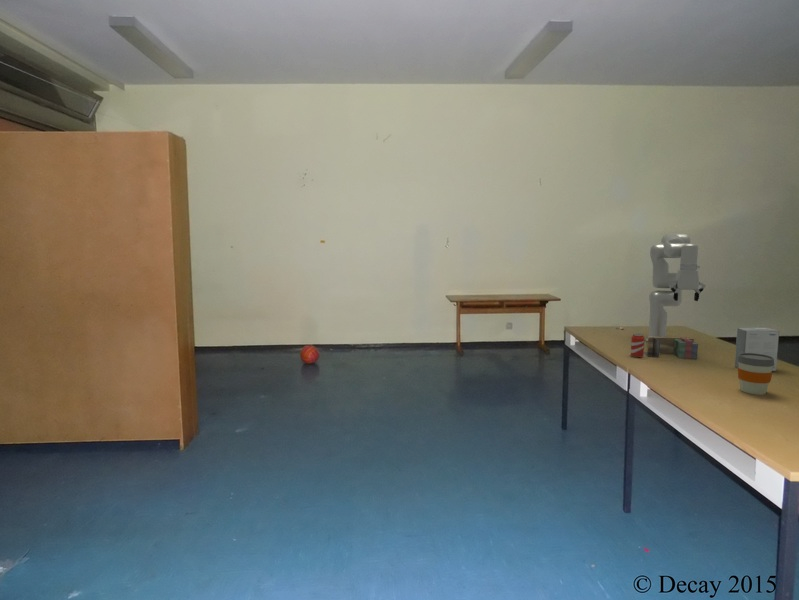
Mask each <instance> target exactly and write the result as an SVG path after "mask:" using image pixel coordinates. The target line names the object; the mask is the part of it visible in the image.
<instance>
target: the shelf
mask: <svg viewBox="0 0 799 600" xmlns="http://www.w3.org/2000/svg"><path fill="white" fill-rule="evenodd" d="M647 338H648V342H647V343H646V344H647V345H646V346H647V347H646V352H650V353H653V338H654V337H649V336H647ZM655 338H656V339H658V340H659V341H660V351H659V353H665V354H664V355H666V354H667V355H668V354H669V355H674V356H675V357H677V358H678V359H687V358H692V359H691V360H697V359H698V350H699V348H698V347H699V344H698V343H697V342H695V338H693V337H691V338H690V337H670V336H669V337H667V336H666V337H655Z"/></svg>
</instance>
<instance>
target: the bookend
mask: <svg viewBox="0 0 799 600" xmlns="http://www.w3.org/2000/svg"><path fill="white" fill-rule="evenodd" d="M659 351H660V341H659V340H658V339H656V338H655V337H654V338H653V353H650V352H647V351H646V352H645V351H644V352H643V355H644V356H646V357H647V358H657V357H659V358H660V354H659Z"/></svg>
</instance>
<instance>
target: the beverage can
mask: <svg viewBox="0 0 799 600" xmlns="http://www.w3.org/2000/svg"><path fill="white" fill-rule="evenodd" d="M630 346H631V347H630V356H631V357H633V356H634V357H633V358H638V357H640V358H642V357H644V353H643V352H645V351H644V349H645V336H644V334H641V333H633V334H632V336H631V345H630Z"/></svg>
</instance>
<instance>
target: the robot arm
mask: <svg viewBox="0 0 799 600" xmlns="http://www.w3.org/2000/svg"><path fill="white" fill-rule="evenodd" d="M660 241H661V242H660V243H655V244H653V245H651V247H650V250H649V251H650V252H649V254H650V259H651V264H652V286H653V288H656V289H670V290H653V291H651V292H650V293H649V298H648V299H649V326H648V337H667V325H668V323H667V322H668V312H667V311H666V309H665V308H664V307H679V306H680V305H681V304H682V301H683V299H682V298H683V291H686V290H687V291H690V290H691V291H694V292H695V293H694V295H693V296H694V297H693V301H695V302H698V301H699V299H700V294H701V293H702V292H703V291H704V289H705V288H706V284H704V283H702V282H701V281H700V279H699V277H700V276H699V272H698V271H699V270H698V269H700V267H701V266H700V265H698V255H699V245H698V244H696V243H691V237H690V236H689V234H687V233H667V234H665V235H663V236H662V238H661V239H660ZM666 259H680V262H679V269H677V272H669V269H670V267H669V263H668V262H667V260H666ZM699 286H700V287H699ZM648 337H646V338H645V341H646V342H647V343H648Z"/></svg>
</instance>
